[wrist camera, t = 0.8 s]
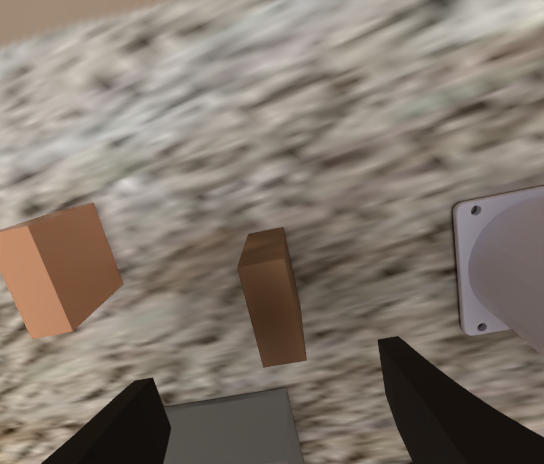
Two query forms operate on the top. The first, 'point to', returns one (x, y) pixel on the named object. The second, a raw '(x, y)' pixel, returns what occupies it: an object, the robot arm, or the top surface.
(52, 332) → the block
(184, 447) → the coin box
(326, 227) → the top surface
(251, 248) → the block
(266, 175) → the top surface
